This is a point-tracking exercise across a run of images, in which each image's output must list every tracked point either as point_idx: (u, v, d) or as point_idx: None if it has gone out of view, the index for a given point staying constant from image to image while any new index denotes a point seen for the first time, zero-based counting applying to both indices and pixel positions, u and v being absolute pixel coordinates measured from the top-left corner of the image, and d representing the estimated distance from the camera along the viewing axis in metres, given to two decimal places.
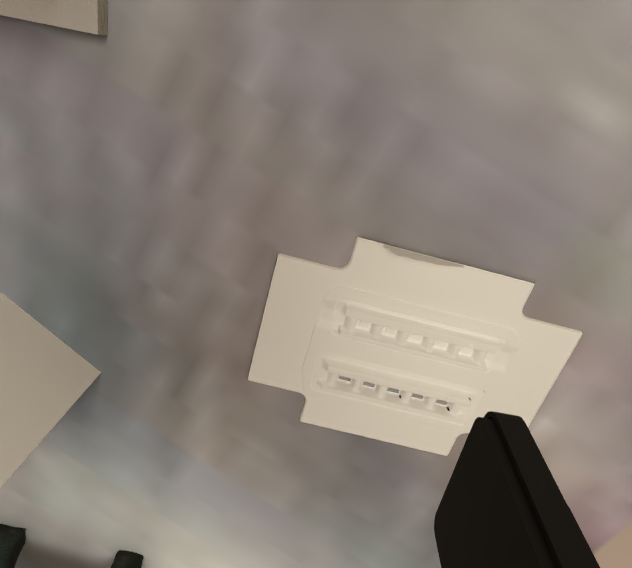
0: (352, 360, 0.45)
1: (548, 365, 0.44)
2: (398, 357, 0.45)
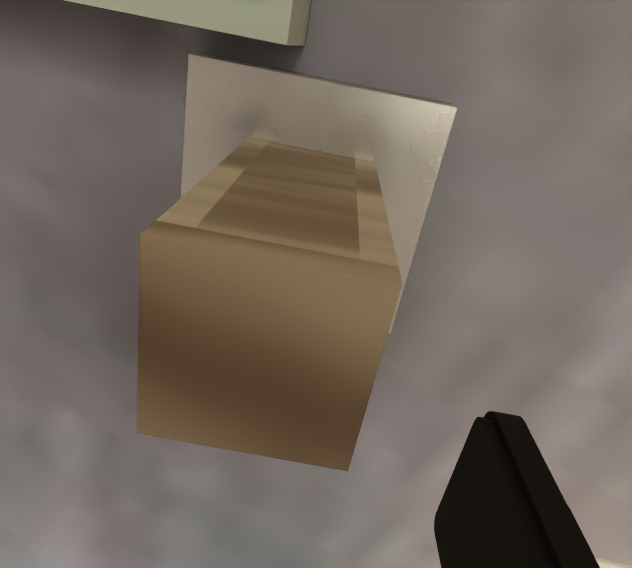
0: None
1: None
2: None
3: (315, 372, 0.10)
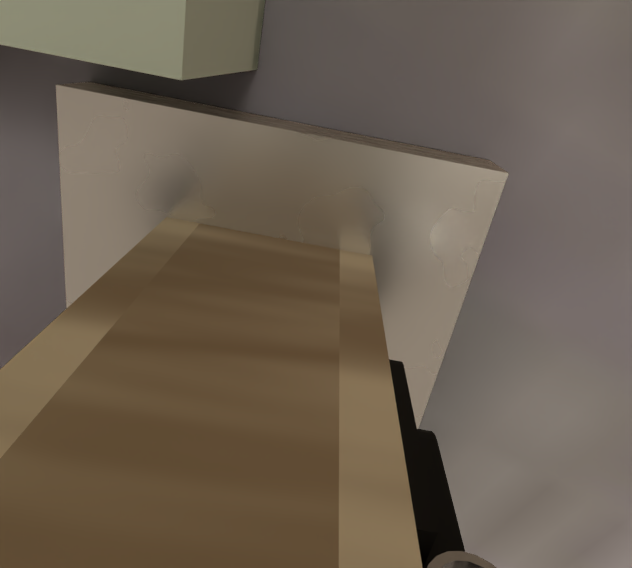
0: None
1: None
2: None
3: None
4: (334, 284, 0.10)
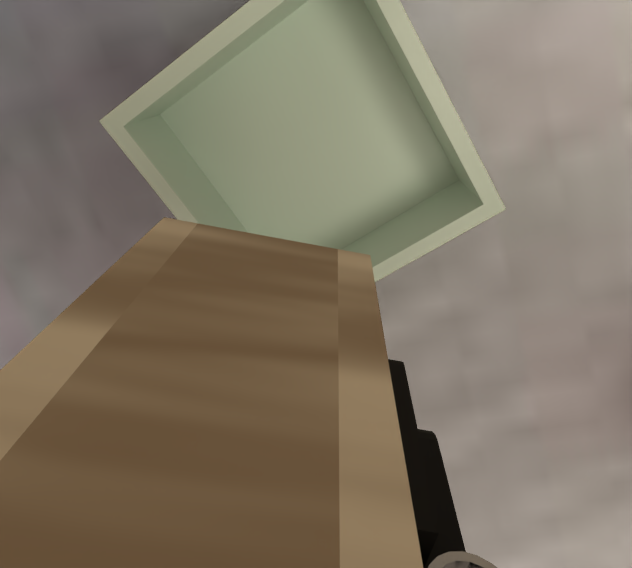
0: None
1: None
2: None
3: None
4: (332, 284, 0.10)
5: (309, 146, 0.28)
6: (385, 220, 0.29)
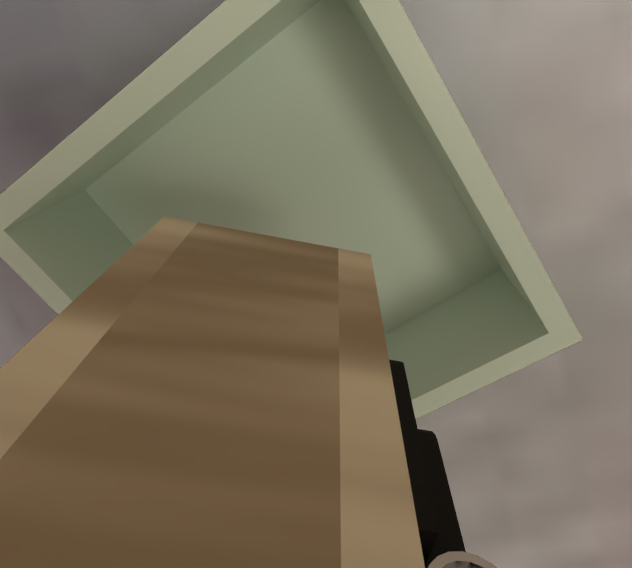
0: None
1: None
2: None
3: None
4: (333, 283, 0.10)
5: (292, 228, 0.20)
6: (399, 321, 0.21)
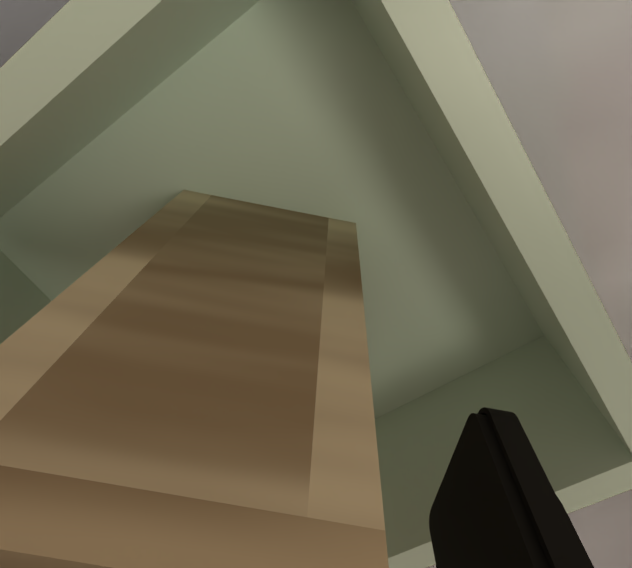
0: None
1: None
2: None
3: None
4: (322, 241, 0.12)
5: None
6: (407, 398, 0.16)
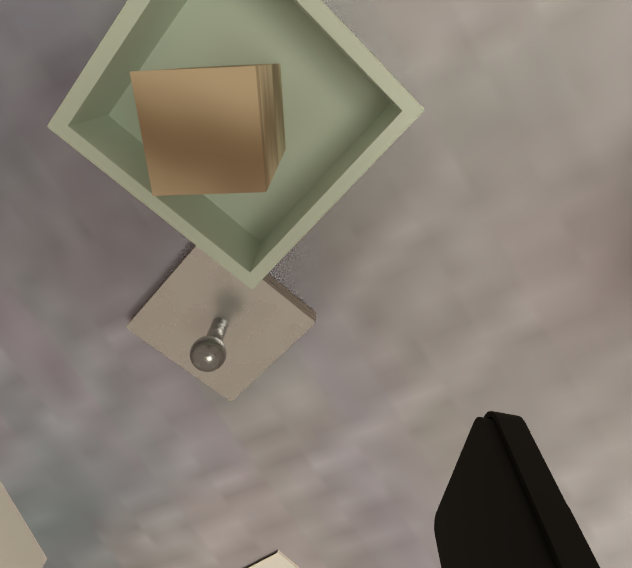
0: None
1: None
2: None
3: (230, 130, 0.20)
4: (260, 64, 0.27)
5: None
6: (334, 159, 0.31)
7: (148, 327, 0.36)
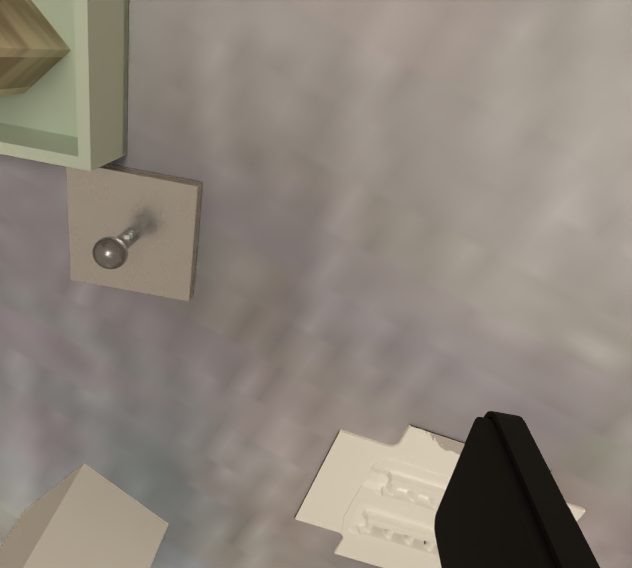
0: (389, 512, 0.52)
1: None
2: (428, 515, 0.52)
3: None
4: None
5: None
6: None
7: (85, 269, 0.40)
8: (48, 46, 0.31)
